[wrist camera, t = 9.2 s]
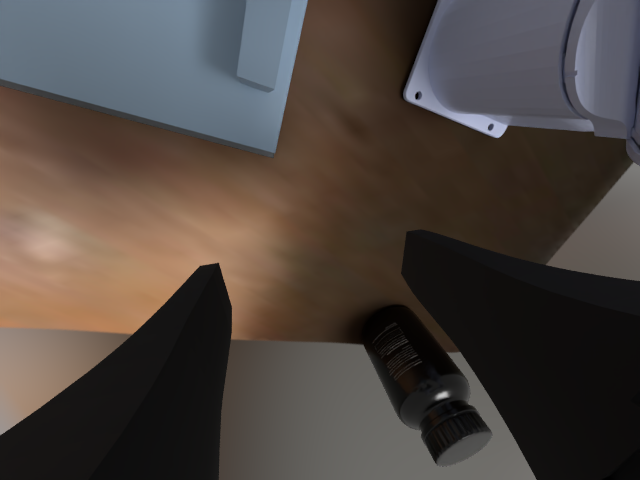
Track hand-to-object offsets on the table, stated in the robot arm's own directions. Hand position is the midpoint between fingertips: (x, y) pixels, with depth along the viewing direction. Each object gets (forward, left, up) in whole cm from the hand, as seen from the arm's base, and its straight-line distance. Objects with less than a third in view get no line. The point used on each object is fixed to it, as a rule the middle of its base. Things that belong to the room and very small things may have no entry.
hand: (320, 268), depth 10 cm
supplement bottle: (-15, +13, -11) cm, 23 cm away
